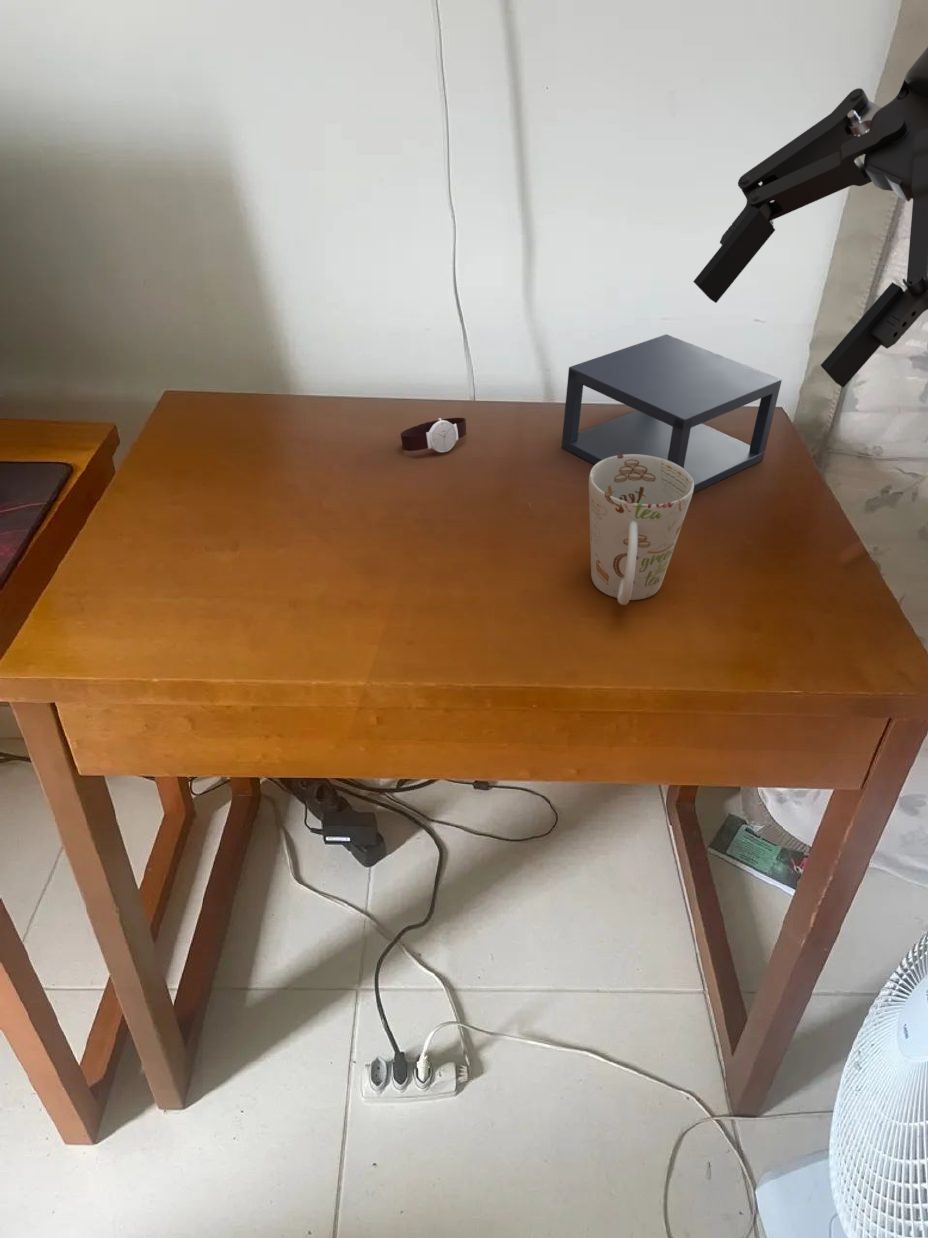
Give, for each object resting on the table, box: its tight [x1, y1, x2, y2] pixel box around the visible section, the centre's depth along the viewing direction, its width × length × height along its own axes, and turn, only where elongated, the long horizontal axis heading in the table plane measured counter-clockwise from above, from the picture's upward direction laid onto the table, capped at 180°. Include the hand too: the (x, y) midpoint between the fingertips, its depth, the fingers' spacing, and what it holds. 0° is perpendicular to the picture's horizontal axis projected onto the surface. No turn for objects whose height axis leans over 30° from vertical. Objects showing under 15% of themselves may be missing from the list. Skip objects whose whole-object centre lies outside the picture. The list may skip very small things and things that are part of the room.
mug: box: [588, 454, 694, 606], centre depth 80 cm, size 8×13×10 cm, turn 172°
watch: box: [400, 417, 467, 453], centre depth 103 cm, size 8×5×4 cm, turn 126°
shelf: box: [561, 333, 783, 494], centre depth 101 cm, size 15×15×9 cm
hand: (763, 332), depth 70 cm, fingers open, 13 cm apart
